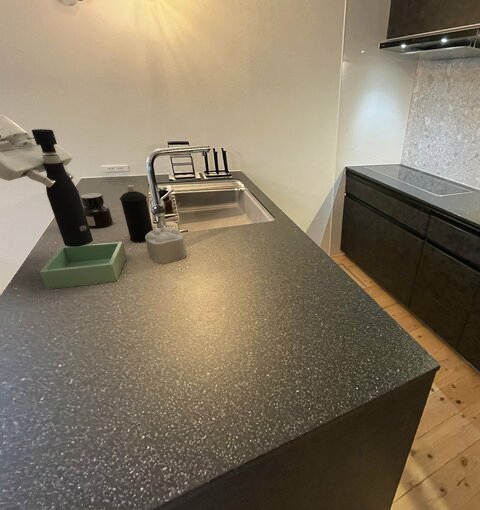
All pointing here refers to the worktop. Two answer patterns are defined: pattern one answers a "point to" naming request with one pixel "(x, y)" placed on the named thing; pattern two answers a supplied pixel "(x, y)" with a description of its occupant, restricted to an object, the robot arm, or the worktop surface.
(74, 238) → the black water bottle
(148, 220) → the aerosol can
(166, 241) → the lumpy-topped squat cylinder
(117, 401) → the worktop surface
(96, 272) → the green square tray
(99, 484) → the worktop surface
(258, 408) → the worktop surface
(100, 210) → the ink bottle
